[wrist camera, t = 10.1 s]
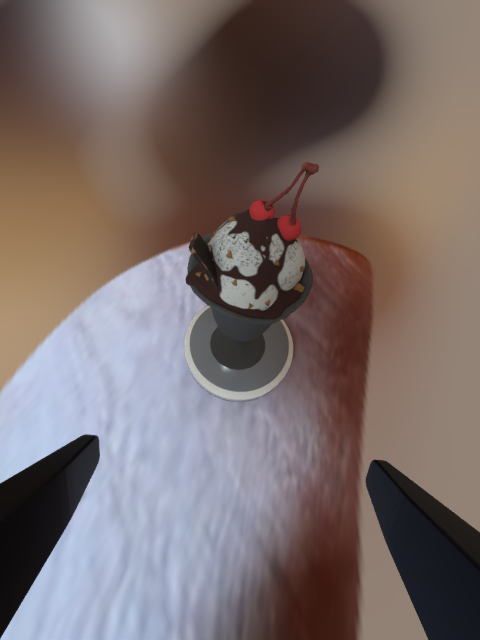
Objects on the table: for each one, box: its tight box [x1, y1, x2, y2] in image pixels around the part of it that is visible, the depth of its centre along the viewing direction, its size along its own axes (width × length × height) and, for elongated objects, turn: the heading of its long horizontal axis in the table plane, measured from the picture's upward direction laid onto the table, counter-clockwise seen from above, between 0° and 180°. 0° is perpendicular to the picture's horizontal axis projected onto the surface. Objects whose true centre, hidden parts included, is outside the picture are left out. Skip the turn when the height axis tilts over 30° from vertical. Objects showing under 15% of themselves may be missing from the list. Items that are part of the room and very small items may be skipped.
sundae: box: [186, 162, 319, 370], centre depth 15 cm, size 7×7×15 cm
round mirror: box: [184, 305, 293, 402], centre depth 23 cm, size 10×10×2 cm
